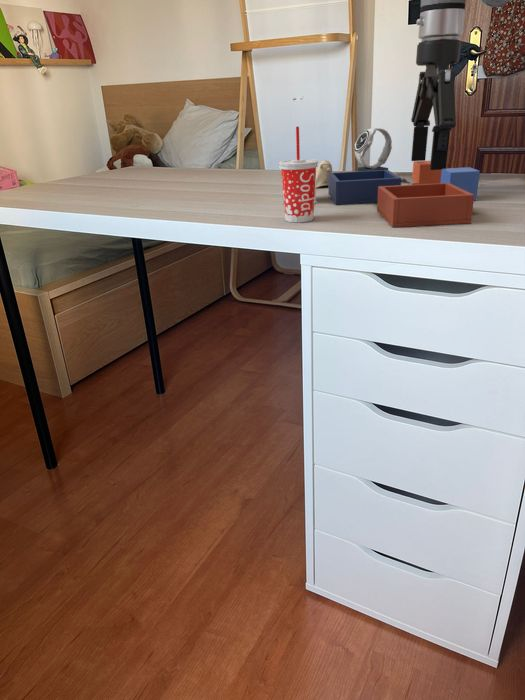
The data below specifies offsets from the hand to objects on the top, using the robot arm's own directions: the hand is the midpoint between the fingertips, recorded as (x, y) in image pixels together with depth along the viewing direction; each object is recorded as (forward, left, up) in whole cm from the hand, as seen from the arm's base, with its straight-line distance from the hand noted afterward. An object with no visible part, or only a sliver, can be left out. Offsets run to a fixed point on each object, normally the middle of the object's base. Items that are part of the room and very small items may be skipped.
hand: (427, 165), depth 103 cm
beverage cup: (+27, +22, -5) cm, 35 cm away
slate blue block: (-2, +12, -5) cm, 13 cm away
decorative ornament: (+20, -10, -5) cm, 23 cm away
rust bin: (+8, +25, -5) cm, 27 cm away
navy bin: (+14, +6, -5) cm, 16 cm away
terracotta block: (0, 0, -5) cm, 5 cm away
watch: (+9, -11, -5) cm, 15 cm away
